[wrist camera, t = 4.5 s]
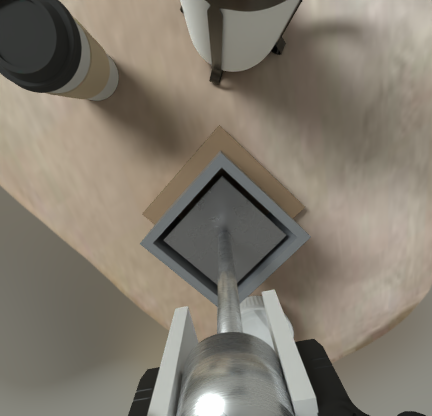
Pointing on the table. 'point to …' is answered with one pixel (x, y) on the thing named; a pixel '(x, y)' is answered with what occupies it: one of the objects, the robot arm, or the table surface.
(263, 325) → the ramekin
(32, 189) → the table surface
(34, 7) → the coffee cup
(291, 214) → the square grey bin
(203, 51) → the coffee press
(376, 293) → the table surface
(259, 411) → the plunger
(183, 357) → the robot arm
